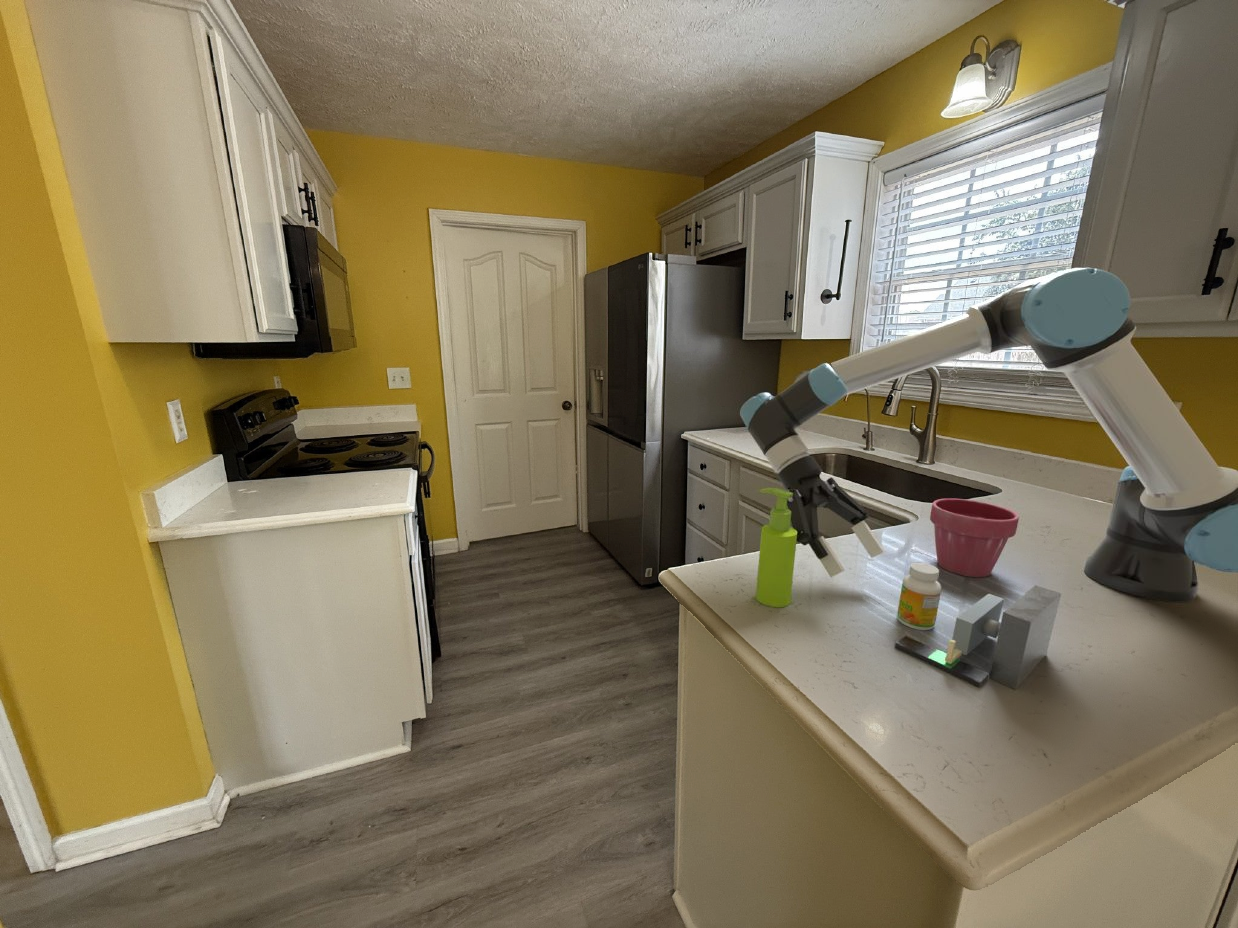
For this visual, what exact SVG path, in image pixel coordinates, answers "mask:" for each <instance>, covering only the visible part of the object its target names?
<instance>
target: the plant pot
mask: <svg viewBox="0 0 1238 928" xmlns="http://www.w3.org/2000/svg"><path fill="white" fill-rule="evenodd" d="M1019 519H1020V516H1019V515H1018V513H1017V512H1015V511H1013V510H1011V509H1009V508H1006V507H1003V506H1000V505H997V504H992V503H988V502H985V501H984V502H982V501H977V500H972V499H963V498H940V499H936V500H934V501H933V502H932V505H931V510H930V515H929V520H930V522H931V523H932V524H933V527H934V528H933V529H934V540H935V541H934V544H935V552H936V562H937V564H938V565H939V566H940V568H942V569H944V570H946V571H948V572H951V573H953V574H957V575H961V576H965V577H970V578H986V577H989V576H990V575H991V573H992V572H993V570H994V567H995V565H996V564H997V562H998V560H999V558H1000V556H1001V555H1002V552H1003V550H1004V548H1005V546H1006V544H1007V542H1008V539H1009V538H1013V537H1014V536H1016V534H1017V529H1018V526H1019Z"/></svg>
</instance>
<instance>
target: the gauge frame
mask: <svg viewBox="0 0 1238 928" xmlns="http://www.w3.org/2000/svg"><path fill="white" fill-rule="evenodd" d="M1061 596H1062V593H1061V592H1058V591H1055V590H1052V589H1048V588H1046V587H1043V586H1039V585H1036V584H1035V585H1033V586H1032V588H1030V589H1029V590H1028V591H1027V592H1026V593H1024V594H1023V595H1022V596H1021V597H1019V598H1018V599H1017V600H1016V601H1015V602H1014V603H1012V604H1011V605H1010V606H1009V607H1008V608H1006V609H1005V610H1004V611H1003V613H1002V617H1001V621H1000V623H1001V625H1000V630H999V634H998V636H997V638H996V645H995V648H994V654H993V657H992V663H991V667H990V671H989V672H987V671H985V670H983V669H980V668H978V667H976V666H974V665H972V664H970V663H967V662H965V661H963V660H961V659H959V657H958V658H957V659H956V660H955V661H954V662H952V663H951V664H950V663H948V662H946V661H945V657H946V655H947V652H944V651H942V650H940V649H936V648H934V647H932V646H929V645H927V644H925V643H923V642H921V641H919V640H916V639H914V638H912V637H909V636H908V635H904V636H903V637H901V639H898V640H897V641H896V642H895V643H894V648H895V649H897V650H899V651H901V652H904V653H905V654H907V655H909V656H912V657H914V658H916V659H918V660H920V661H923V662H925V663H927V664H929V665H931V666H933V667H934V668H937V669H939V670H941V671H943V672H946V673H948V674H949V675H952V676H954V677H955V678H958V679H960V680H963V681H965V682H967V683H969V684H970V685H972V686H975V687H977V688H981V686H982V685H984V683H985V682H986V681H987V680H989V679H991V680H993V681H995V682H997V683H1000V684H1002V685H1004V686H1007V687H1009V688H1011V689H1014V690H1017V689H1018V688H1019V686H1020V685H1021V684H1022V683H1023V682H1024V680H1025V679H1027V678H1028V676H1029V675H1030V674H1031V673H1032V672H1033V671H1034V670H1035V668H1036V667H1037V666H1038V665H1039V664H1040V663H1041V662H1042V660H1044V658H1045V657H1046V656H1047V654H1048V649H1049V646H1050V645H1049V644H1050V641H1051V636H1052V633H1053V629H1054V624H1055V622H1056V621H1055V620H1056V618H1057V617H1056V616H1057V612H1058V608H1059V604H1060V601H1061Z"/></svg>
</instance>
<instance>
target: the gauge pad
mask: <svg viewBox="0 0 1238 928" xmlns="http://www.w3.org/2000/svg"><path fill="white" fill-rule="evenodd" d="M1003 604H1004V598H1002V597H1000V596H997V595H994V594H991V593H988V594H985V596H983V597H982V598H981V599H980V600H978V601H977V602H976V603H974V604H973V605H971V606H970V607H968V608H967V609H965V611H963V612H962V613H961V614H960V615H958V616H956V618H955V624H954V629H953V634H952V638H950V639H949V641H948V645H947V650H946V651H947V652H946V653H947V655H946V657H945V661H946V662H948V663H950V664H951V663H952V662H954V661H955V660H956V659H957V658H958V659H959V658H960V656H962V655H965V656H968V654H969V653H971V652H972V651H973V650H974V649H975V648H976V647H978V645H980V644H981V643H982V642H983V641H984V640H986V639H987V638H988V637H991V638H993V639H998V634H999V630H1000V625H1001V621H1000V618H1001V615H1002V613H1001V612H1002V608H1003Z"/></svg>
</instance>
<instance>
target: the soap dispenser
mask: <svg viewBox="0 0 1238 928" xmlns="http://www.w3.org/2000/svg"><path fill="white" fill-rule="evenodd" d="M758 492H759V493H760V494H768V495H769V494H770V495H774V496H776V505H775V507H772V508H771V509H770V513H769V515H770V516H769V524H768V523H767V524H765V525H763V526H761V530H760V532H761V533H760V543H759V552H758V554H759V555H758V566H757V578H756V589H755V598H756V600H757V601H758V602H759V603H761V604H763V605H764V606H767V607H771V608H784V607H787V606H789V605H790V603H791V598H792V588H793V579H794V578H793V577H794V570H795V569H794V568H795V558H796V548H797V531H796V530H795V529H794V528H793V526H792V527H791V523H792V522H791V511H790V510H789V509H788V506H787V499H788V498H790V497H792V496H793V493H791V492H788V490H786V489H781V488H775V487H763V488H762V489H761V488H760V489H758Z"/></svg>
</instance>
